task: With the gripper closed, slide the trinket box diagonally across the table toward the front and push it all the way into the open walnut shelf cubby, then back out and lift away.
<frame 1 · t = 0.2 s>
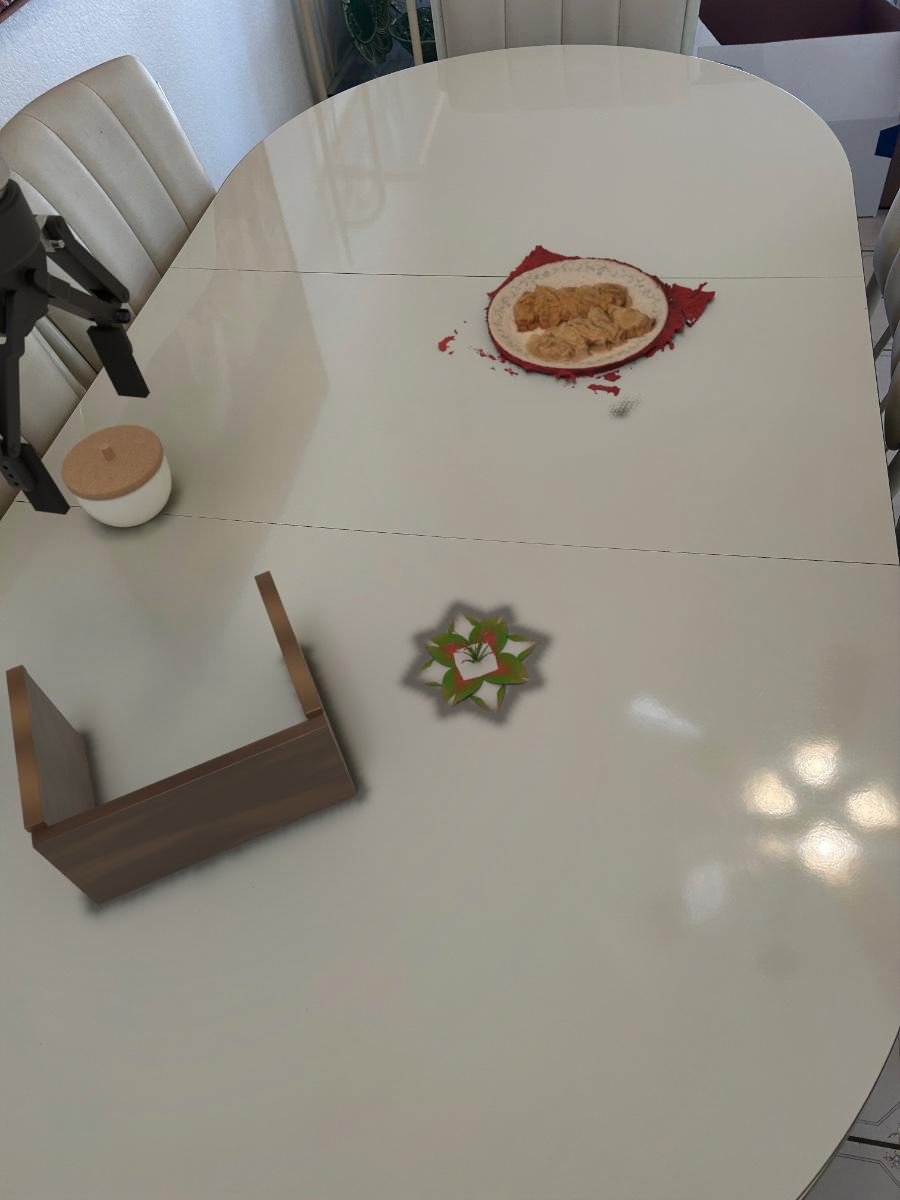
hand: (96, 449, 75), 23 cm above the table, tool pointing down, fingers open, 13 cm apart
trinket box: (138, 510, 105), on the table
plate with food: (575, 331, 116), on the table
lily flower: (476, 666, 86), on the table
shelf cubby: (209, 766, 83), on the table
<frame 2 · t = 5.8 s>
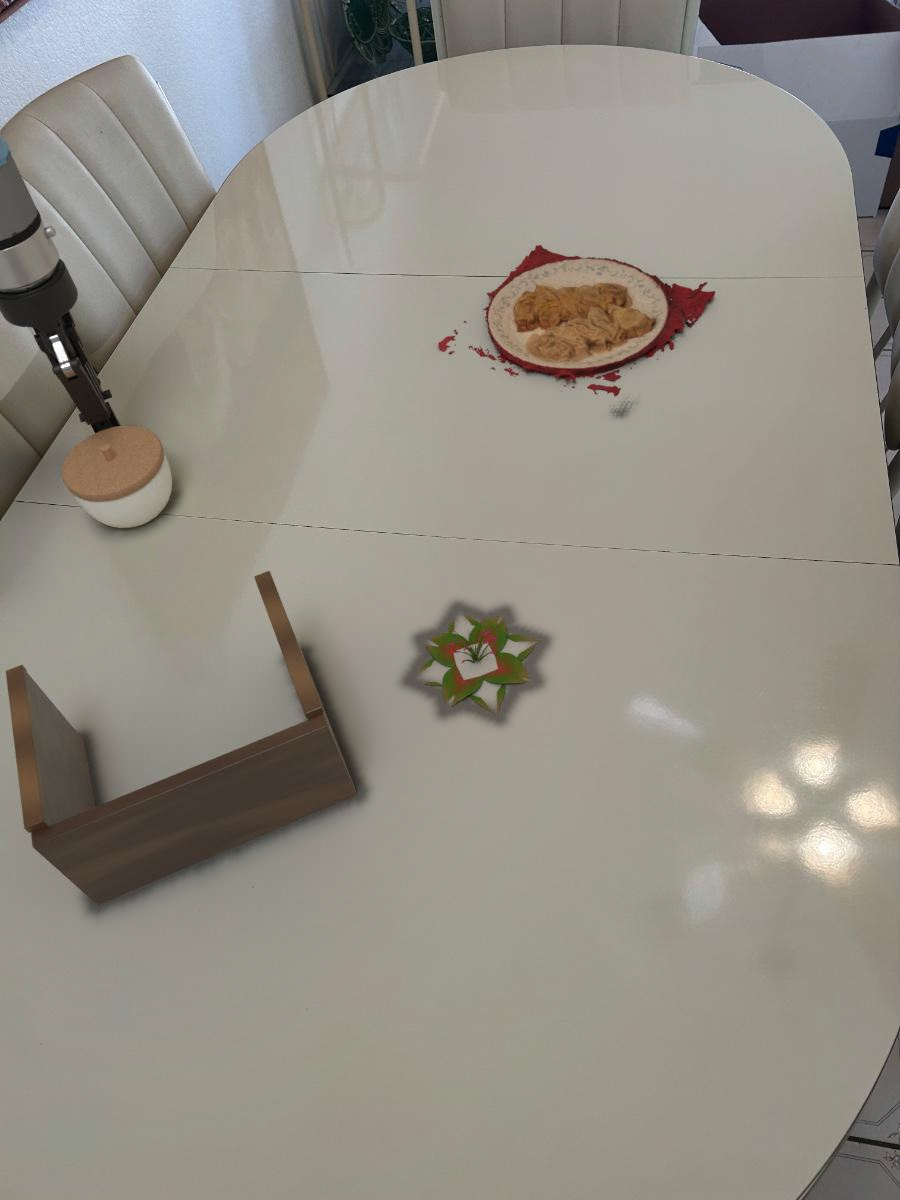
hand: (120, 452, 108), 2 cm above the table, tool pointing down, fingers closed
trinket box: (139, 510, 105), on the table, touching gripper
everything else where it was.
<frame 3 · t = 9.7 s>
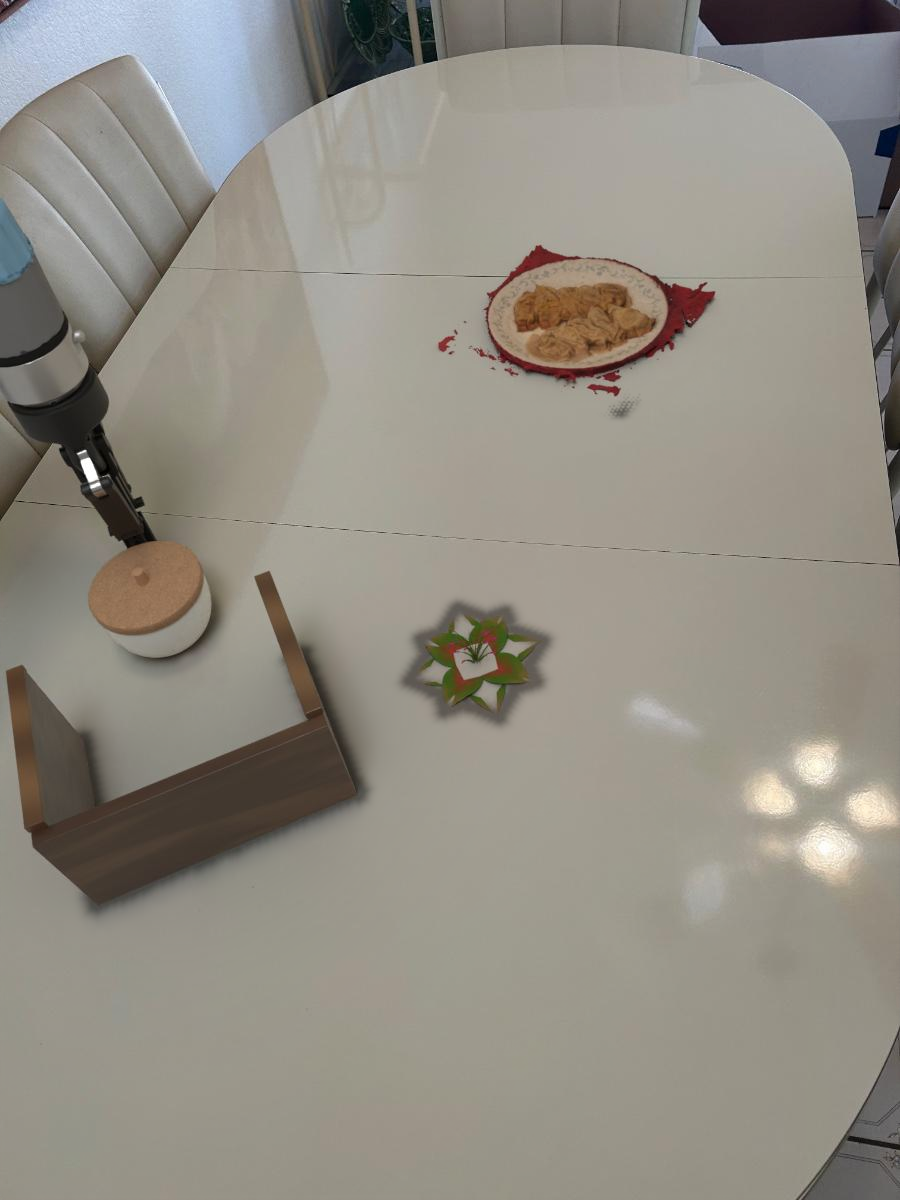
hand: (152, 562, 96), 2 cm above the table, tool pointing down, fingers closed
trinket box: (173, 633, 93), on the table, touching gripper
everything else where it was.
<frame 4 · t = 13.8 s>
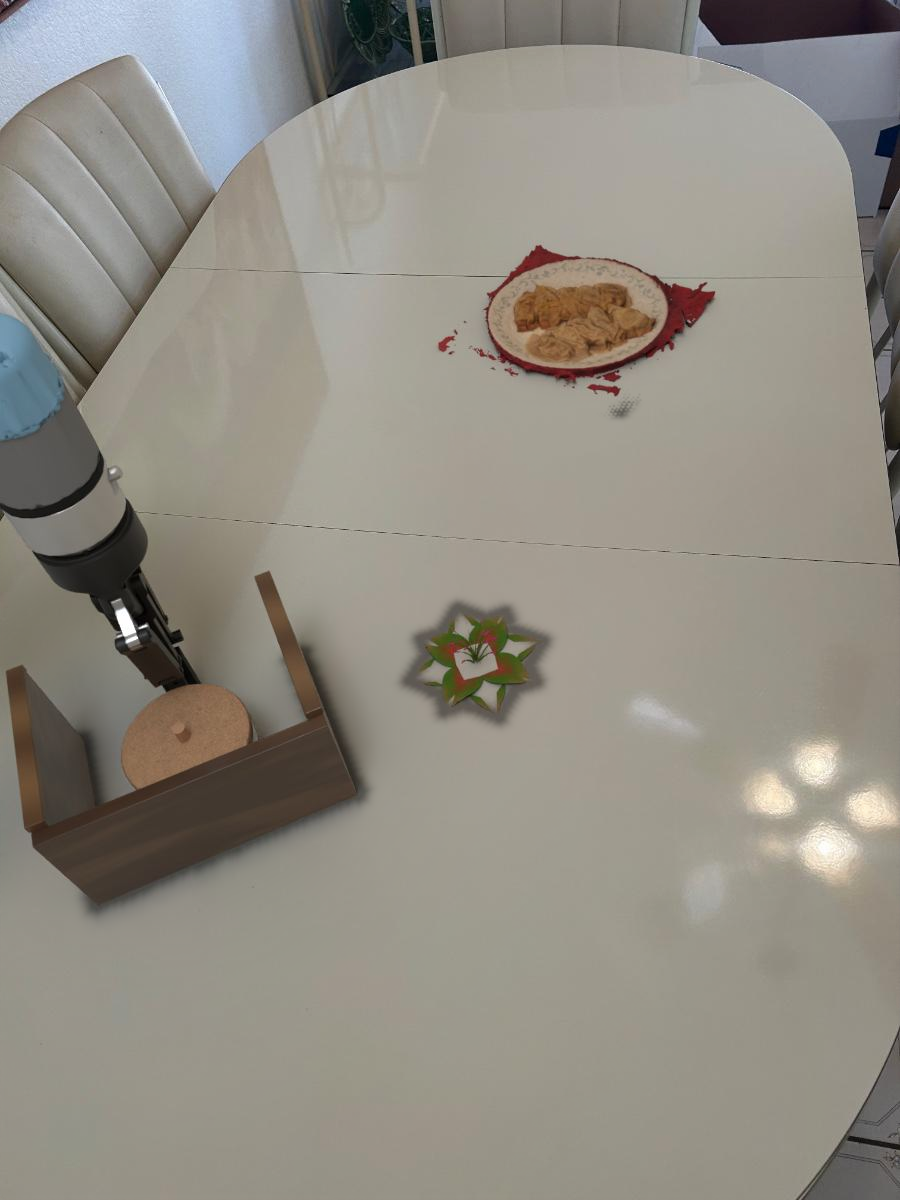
hand: (190, 698, 85), 2 cm above the table, tool pointing down, fingers closed
trinket box: (215, 783, 82), on the table, touching gripper
everything else where it was.
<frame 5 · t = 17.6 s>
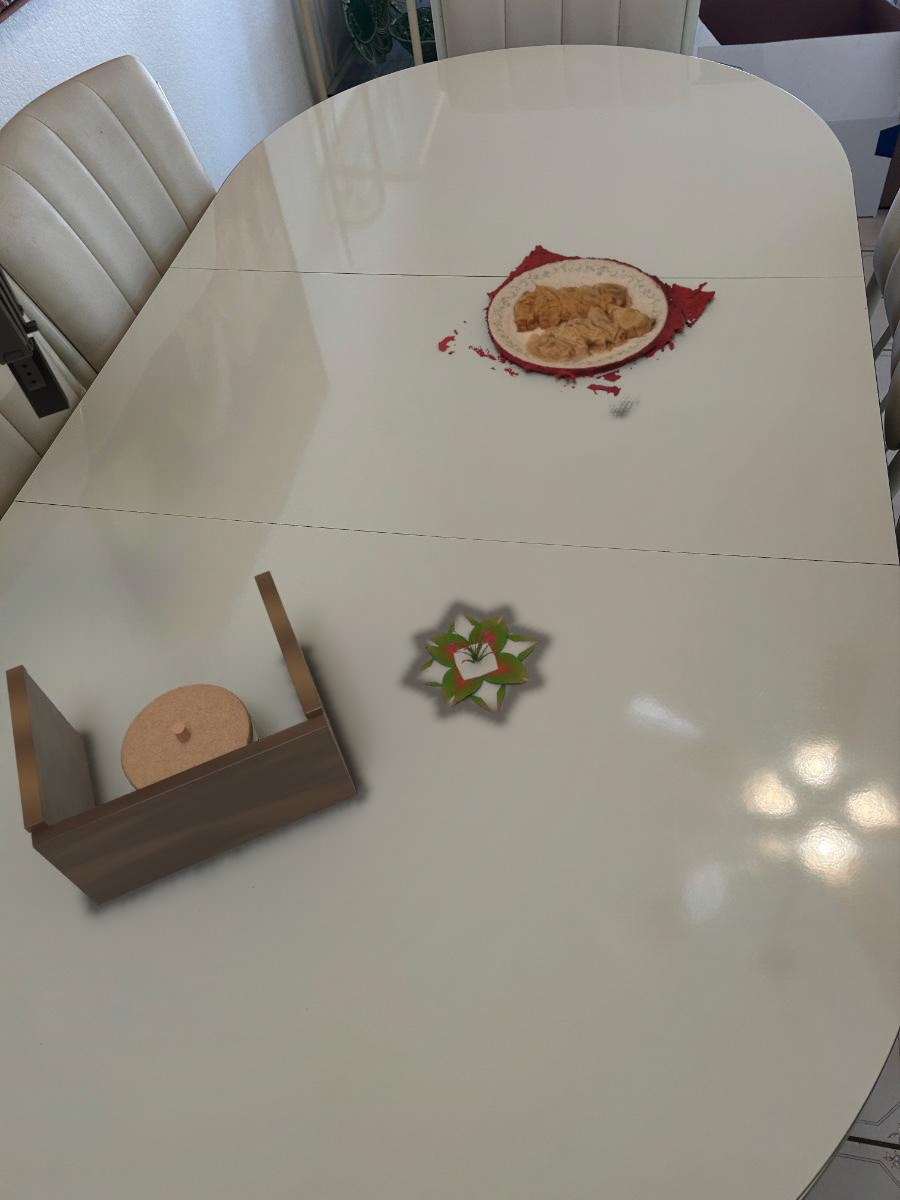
hand: (53, 408, 81), 22 cm above the table, tool pointing down, fingers closed
trinket box: (215, 784, 82), on the table
everything else where it was.
at the end: trinket box 1.8 cm from the shelf cubby (horizontally); trinket box moved 37.8 cm from its start; trinket box tilted 0° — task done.
